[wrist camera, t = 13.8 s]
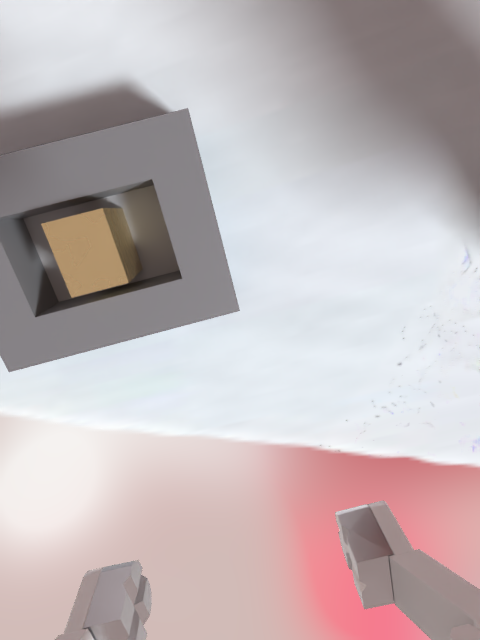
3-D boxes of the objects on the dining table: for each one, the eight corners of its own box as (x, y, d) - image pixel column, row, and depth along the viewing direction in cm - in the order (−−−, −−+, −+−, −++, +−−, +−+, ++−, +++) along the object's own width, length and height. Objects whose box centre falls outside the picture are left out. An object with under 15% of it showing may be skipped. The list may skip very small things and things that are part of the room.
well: (190, 125, 27) (188, 108, 23) (234, 295, 32) (239, 310, 27) (-39, 183, 27) (-90, 177, 22) (38, 347, 31) (8, 372, 26)
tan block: (122, 208, 28) (102, 208, 22) (142, 268, 30) (128, 282, 24) (73, 220, 28) (41, 223, 22) (96, 280, 30) (71, 297, 24)
